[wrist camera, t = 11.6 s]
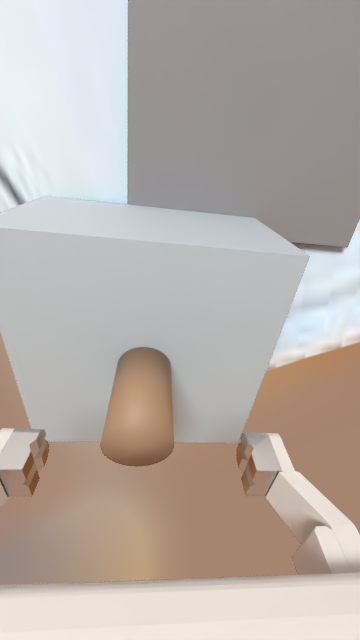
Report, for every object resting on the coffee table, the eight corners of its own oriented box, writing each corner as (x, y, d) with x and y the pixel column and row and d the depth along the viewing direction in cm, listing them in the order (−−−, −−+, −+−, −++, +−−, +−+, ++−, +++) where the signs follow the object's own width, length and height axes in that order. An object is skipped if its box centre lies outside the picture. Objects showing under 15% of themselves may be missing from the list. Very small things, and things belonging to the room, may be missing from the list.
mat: (465, -51, 14) (477, -59, 14) (342, 245, 22) (347, 247, 22) (129, -132, 12) (128, -146, 12) (128, 225, 20) (127, 226, 20)
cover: (254, 217, 20) (386, 308, 8) (217, 366, 28) (257, 517, 16) (46, 195, 18) (-160, 270, 7) (71, 360, 26) (-1, 523, 15)
